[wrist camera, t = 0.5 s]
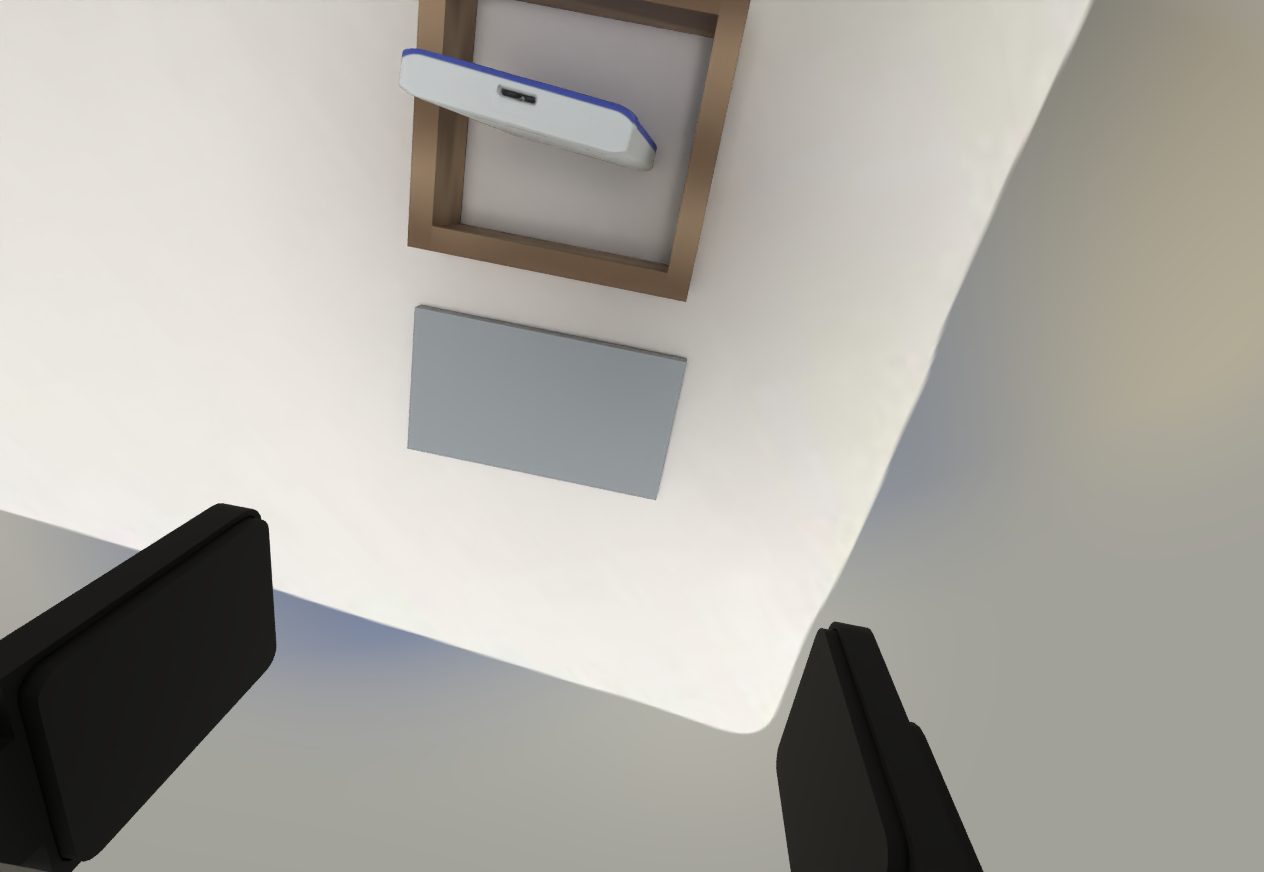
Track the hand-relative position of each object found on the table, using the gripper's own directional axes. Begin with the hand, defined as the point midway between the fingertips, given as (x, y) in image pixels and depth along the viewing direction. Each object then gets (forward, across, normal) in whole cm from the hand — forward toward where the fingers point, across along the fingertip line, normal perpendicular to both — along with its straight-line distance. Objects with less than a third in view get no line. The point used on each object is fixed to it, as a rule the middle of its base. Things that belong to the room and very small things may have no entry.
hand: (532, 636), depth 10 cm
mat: (+27, +6, +6) cm, 28 cm away
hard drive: (+27, +5, -9) cm, 29 cm away
